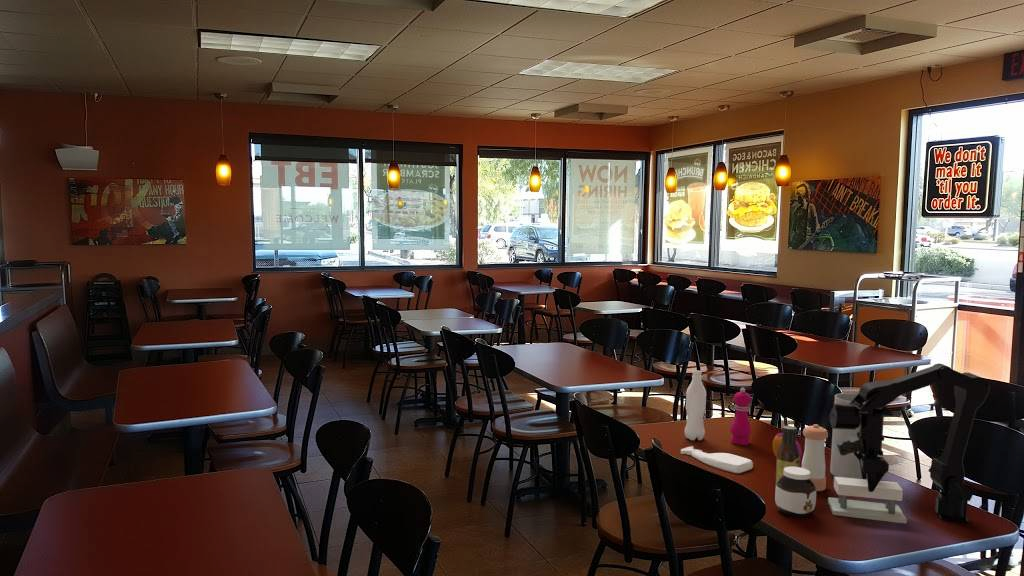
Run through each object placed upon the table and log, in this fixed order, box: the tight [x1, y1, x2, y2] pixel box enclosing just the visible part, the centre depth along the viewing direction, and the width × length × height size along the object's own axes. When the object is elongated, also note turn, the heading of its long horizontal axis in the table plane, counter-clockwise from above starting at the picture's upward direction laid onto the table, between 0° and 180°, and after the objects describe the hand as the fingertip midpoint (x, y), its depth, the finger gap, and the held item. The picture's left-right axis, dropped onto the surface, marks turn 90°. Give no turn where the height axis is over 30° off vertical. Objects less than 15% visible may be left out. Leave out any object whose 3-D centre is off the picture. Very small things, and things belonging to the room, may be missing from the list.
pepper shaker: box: [801, 423, 829, 492], centre depth 219 cm, size 7×7×19 cm
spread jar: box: [774, 466, 817, 518], centre depth 202 cm, size 12×11×12 cm
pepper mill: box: [729, 387, 752, 446], centre depth 262 cm, size 7×7×20 cm
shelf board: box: [833, 476, 904, 502], centre depth 201 cm, size 16×6×3 cm, turn 77°
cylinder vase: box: [829, 392, 865, 479], centre depth 228 cm, size 12×12×25 cm
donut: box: [772, 432, 802, 460], centre depth 240 cm, size 8×9×10 cm
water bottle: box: [684, 369, 707, 441], centre depth 265 cm, size 7×7×25 cm
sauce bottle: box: [775, 425, 801, 485], centre depth 212 cm, size 7×6×20 cm
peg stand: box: [827, 495, 907, 524], centre depth 201 cm, size 18×10×5 cm, turn 74°
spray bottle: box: [680, 445, 754, 474], centre depth 242 cm, size 3×11×24 cm
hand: (867, 485), depth 200 cm, fingers open, 9 cm apart
